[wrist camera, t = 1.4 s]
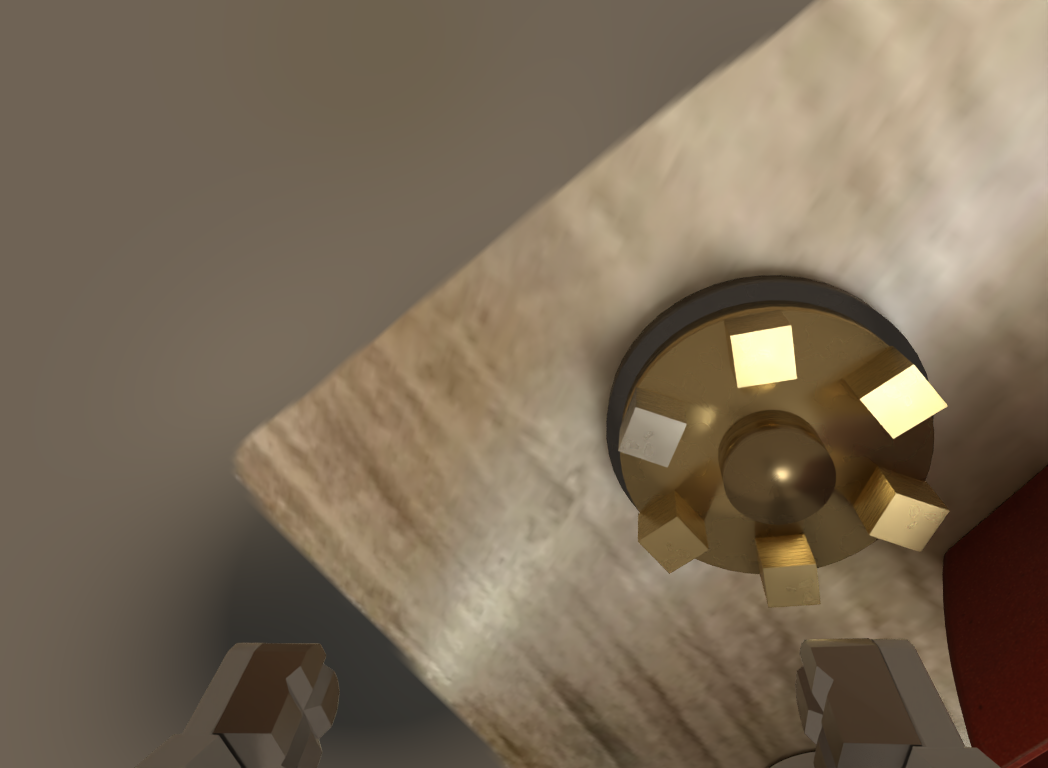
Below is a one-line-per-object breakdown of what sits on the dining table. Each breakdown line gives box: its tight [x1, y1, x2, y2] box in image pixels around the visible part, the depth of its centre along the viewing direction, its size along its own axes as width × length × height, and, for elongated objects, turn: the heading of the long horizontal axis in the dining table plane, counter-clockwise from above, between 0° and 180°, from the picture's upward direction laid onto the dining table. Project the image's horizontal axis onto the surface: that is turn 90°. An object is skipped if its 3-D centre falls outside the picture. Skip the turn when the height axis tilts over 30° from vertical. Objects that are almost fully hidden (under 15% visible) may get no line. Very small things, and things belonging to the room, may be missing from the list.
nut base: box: [607, 275, 933, 508], centre depth 41 cm, size 20×20×2 cm
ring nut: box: [618, 300, 949, 608], centre depth 38 cm, size 18×18×6 cm
